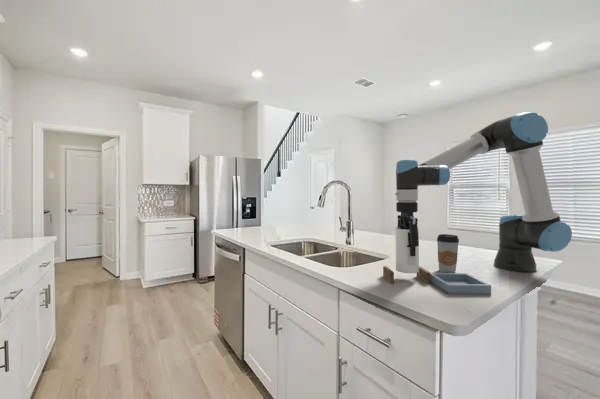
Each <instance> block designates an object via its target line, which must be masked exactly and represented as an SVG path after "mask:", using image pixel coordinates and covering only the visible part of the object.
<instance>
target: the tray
mask: <svg viewBox="0 0 600 399" xmlns="http://www.w3.org/2000/svg"><path fill="white" fill-rule="evenodd" d="M430 284H432V285H434V286H435V287H437V288H438V289H439V290H441V291H442V292H444V293H446V294H447V295H452V296H455V295H456V296H457V295H458V296H459V295H464V296H465V295H479V296H480V295H492V285H491V284H489V283H488V282H485V281H483V280H481V279H479V278H477V277H475V276H473V275H471V274H469V273H465V272H463V273H461V272H460V273H458V272H457V273H456V272H455V273H445V272H439V273H438V272H437V273H436V272H434V273H431V272H430Z"/></svg>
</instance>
